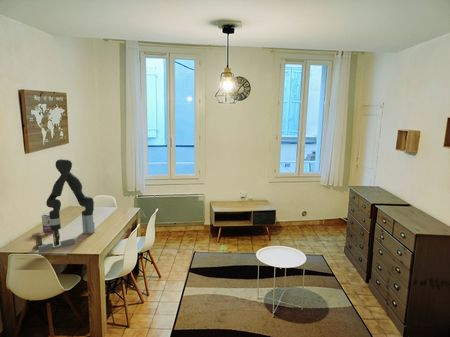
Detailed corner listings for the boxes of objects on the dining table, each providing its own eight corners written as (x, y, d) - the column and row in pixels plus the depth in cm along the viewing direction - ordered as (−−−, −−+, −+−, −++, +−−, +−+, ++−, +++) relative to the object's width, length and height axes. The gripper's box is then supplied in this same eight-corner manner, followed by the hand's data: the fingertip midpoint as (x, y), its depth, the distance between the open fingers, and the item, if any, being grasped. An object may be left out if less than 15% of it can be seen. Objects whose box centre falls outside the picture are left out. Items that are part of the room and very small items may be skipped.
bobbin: (44, 244, 266) (43, 231, 264) (47, 247, 259) (45, 234, 257) (32, 246, 260) (30, 234, 258) (34, 250, 253) (33, 237, 251)
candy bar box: (58, 230, 296) (56, 213, 293) (56, 232, 292) (54, 214, 289) (45, 230, 295) (43, 213, 292) (43, 232, 290) (41, 215, 287)
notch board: (73, 242, 270) (73, 238, 269) (74, 243, 268) (74, 239, 267) (38, 251, 253) (38, 246, 252) (39, 251, 252) (38, 247, 251)
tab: (58, 243, 263) (58, 234, 261) (60, 245, 260) (59, 235, 258) (53, 244, 260) (52, 235, 259) (54, 246, 257) (53, 236, 256)
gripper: (62, 224, 254) (64, 245, 257) (58, 219, 265) (59, 239, 268) (52, 226, 249) (53, 247, 252) (47, 221, 260) (49, 241, 263)
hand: (56, 243), depth 260 cm, fingers closed on tab, 4 cm apart
